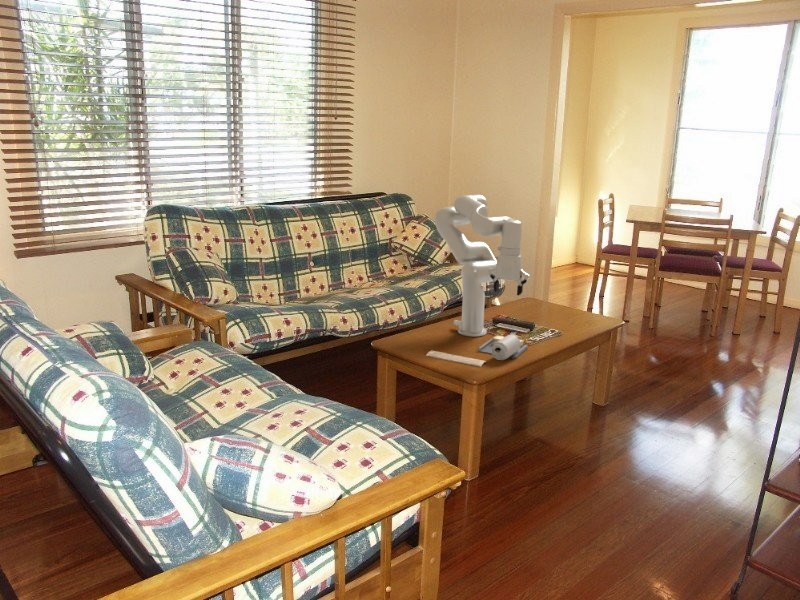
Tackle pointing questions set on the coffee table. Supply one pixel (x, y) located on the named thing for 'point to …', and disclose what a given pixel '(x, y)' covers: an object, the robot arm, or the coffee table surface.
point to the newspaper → (455, 358)
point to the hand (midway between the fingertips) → (507, 292)
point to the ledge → (497, 338)
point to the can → (506, 347)
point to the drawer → (488, 346)
